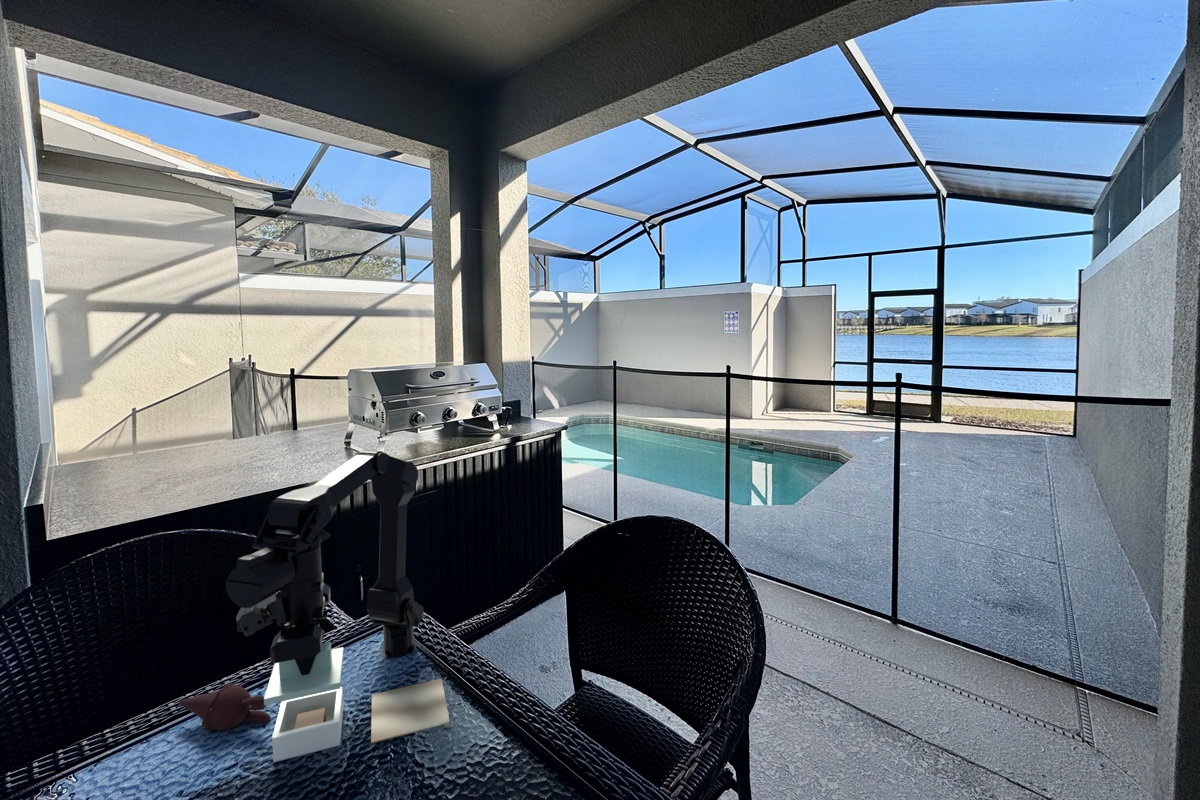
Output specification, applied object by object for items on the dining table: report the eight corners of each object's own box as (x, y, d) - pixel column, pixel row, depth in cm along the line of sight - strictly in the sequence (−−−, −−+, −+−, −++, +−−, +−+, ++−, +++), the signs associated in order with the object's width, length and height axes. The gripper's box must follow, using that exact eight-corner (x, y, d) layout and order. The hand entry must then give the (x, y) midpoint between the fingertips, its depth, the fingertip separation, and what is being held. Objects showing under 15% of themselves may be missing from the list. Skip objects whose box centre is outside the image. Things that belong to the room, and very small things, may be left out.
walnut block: (298, 727, 86) (297, 713, 86) (325, 721, 88) (325, 707, 88) (295, 745, 83) (294, 730, 82) (323, 738, 84) (322, 723, 84)
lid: (276, 670, 87) (274, 640, 86) (343, 656, 91) (342, 627, 90) (264, 710, 78) (262, 676, 77) (340, 693, 82) (338, 661, 81)
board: (372, 698, 94) (371, 694, 94) (441, 682, 99) (441, 678, 99) (371, 746, 83) (371, 742, 83) (449, 726, 88) (449, 721, 88)
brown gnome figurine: (156, 707, 83) (249, 718, 82) (193, 667, 90) (279, 677, 89) (166, 737, 85) (256, 748, 85) (201, 696, 92) (285, 707, 92)
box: (283, 725, 88) (281, 700, 87) (343, 710, 91) (342, 686, 91) (273, 765, 80) (271, 738, 79) (340, 748, 83) (338, 722, 82)
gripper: (253, 559, 87) (259, 648, 89) (222, 615, 70) (231, 722, 72) (328, 550, 92) (332, 634, 94) (317, 599, 75) (322, 701, 77)
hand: (306, 669), depth 84 cm, fingers closed on lid, 2 cm apart
